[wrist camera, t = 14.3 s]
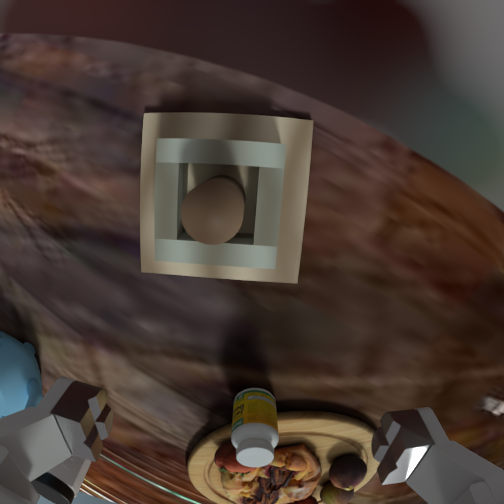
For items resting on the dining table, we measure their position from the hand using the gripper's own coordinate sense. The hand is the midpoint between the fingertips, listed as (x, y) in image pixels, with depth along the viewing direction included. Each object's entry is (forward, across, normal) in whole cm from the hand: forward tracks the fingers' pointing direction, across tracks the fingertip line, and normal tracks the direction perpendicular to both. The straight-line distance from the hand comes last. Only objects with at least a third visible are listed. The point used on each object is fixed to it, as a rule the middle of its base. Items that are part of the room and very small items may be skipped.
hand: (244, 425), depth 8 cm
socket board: (+24, +4, -3) cm, 25 cm away
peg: (+24, +4, -3) cm, 24 cm away
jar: (+24, +30, +42) cm, 57 cm away
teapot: (+24, +34, +21) cm, 47 cm away
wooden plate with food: (+25, -8, +39) cm, 47 cm away
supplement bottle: (+25, -2, +22) cm, 33 cm away
